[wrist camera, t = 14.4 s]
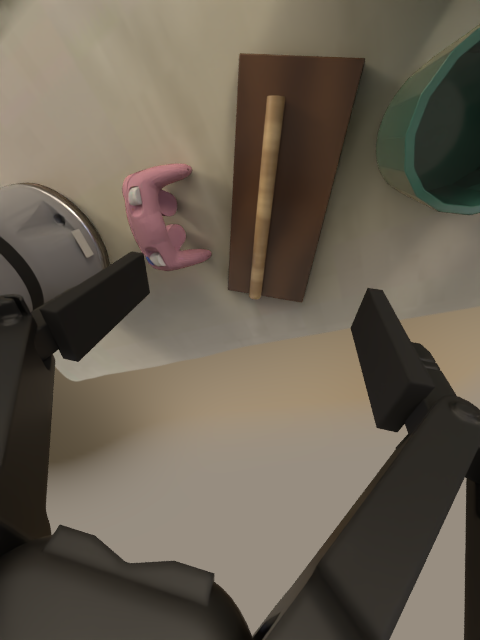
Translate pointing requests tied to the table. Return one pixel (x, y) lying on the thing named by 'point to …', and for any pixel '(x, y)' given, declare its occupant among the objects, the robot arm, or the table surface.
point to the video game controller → (158, 217)
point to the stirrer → (266, 189)
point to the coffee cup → (437, 131)
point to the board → (288, 162)
